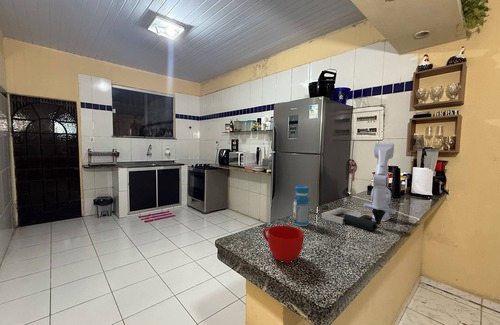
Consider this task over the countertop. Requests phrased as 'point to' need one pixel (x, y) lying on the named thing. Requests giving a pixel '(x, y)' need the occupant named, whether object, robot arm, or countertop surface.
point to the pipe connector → (361, 222)
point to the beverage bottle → (301, 206)
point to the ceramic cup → (284, 242)
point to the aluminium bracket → (330, 214)
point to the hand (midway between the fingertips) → (378, 224)
